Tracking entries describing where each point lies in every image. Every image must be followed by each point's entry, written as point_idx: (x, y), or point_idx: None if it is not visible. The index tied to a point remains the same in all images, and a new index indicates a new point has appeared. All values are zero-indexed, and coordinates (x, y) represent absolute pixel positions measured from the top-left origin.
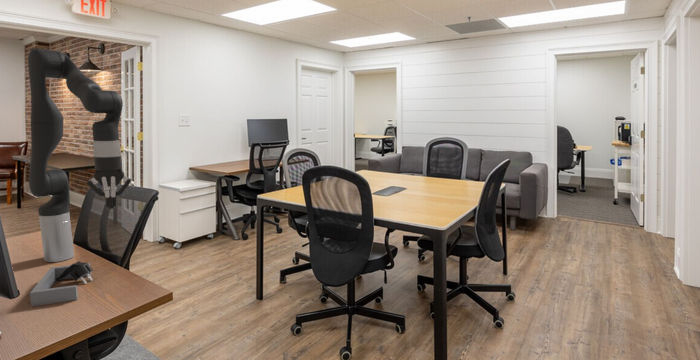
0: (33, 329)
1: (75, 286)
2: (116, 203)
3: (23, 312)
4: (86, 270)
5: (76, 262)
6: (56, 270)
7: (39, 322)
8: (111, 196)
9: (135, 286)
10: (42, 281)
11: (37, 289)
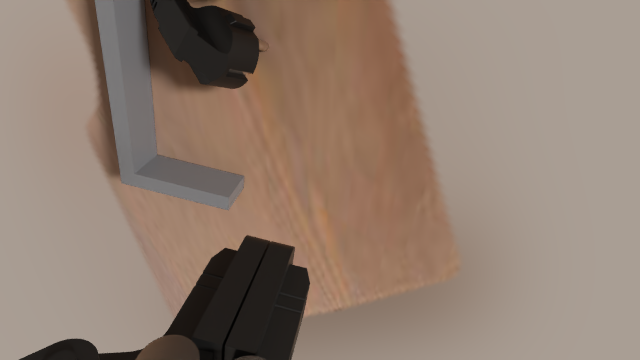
0: (189, 274)
1: (227, 207)
2: (300, 324)
3: (140, 188)
4: (237, 82)
5: (185, 37)
6: None
7: (190, 254)
8: (221, 348)
9: (395, 186)
10: (119, 106)
11: (131, 168)
